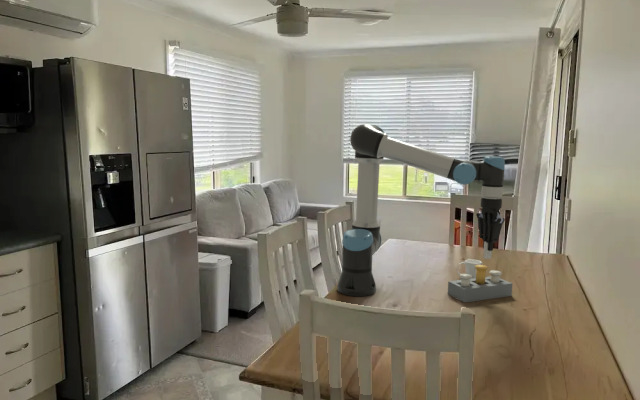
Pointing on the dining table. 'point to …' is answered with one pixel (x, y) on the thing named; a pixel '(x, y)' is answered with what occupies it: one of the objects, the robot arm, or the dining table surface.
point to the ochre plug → (480, 274)
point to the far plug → (495, 276)
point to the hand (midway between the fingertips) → (487, 258)
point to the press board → (479, 290)
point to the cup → (470, 266)
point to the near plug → (465, 279)
